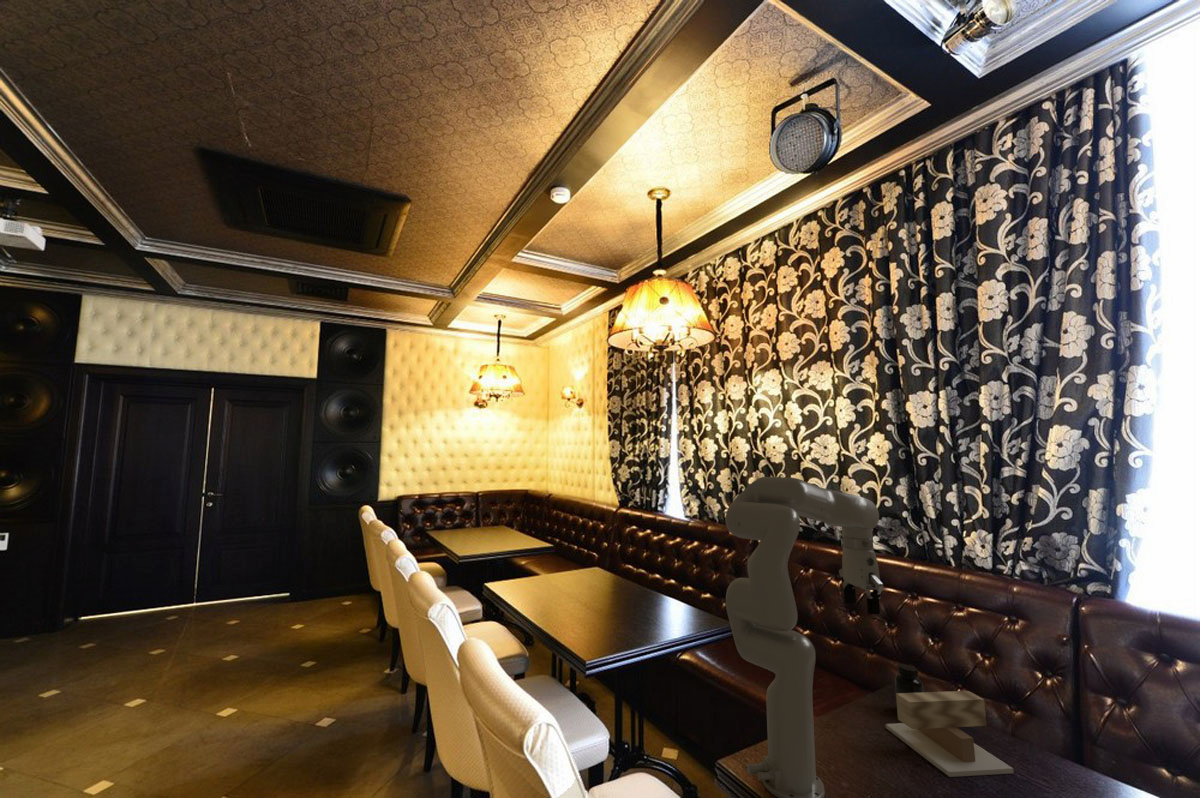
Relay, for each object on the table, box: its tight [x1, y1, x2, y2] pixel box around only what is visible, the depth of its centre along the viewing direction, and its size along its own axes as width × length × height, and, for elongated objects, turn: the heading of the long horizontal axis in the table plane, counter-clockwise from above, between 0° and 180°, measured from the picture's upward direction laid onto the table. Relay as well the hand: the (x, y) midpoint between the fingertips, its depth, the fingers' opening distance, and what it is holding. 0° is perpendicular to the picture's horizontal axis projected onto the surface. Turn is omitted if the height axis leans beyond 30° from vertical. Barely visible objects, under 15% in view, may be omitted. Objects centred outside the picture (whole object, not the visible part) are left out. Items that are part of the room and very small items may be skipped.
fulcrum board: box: [885, 722, 1015, 778], centre depth 116 cm, size 16×20×6 cm
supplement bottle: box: [894, 663, 925, 706], centre depth 134 cm, size 7×7×12 cm
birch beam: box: [895, 690, 987, 729], centre depth 117 cm, size 20×4×6 cm, turn 96°
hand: (861, 608), depth 128 cm, fingers open, 9 cm apart
